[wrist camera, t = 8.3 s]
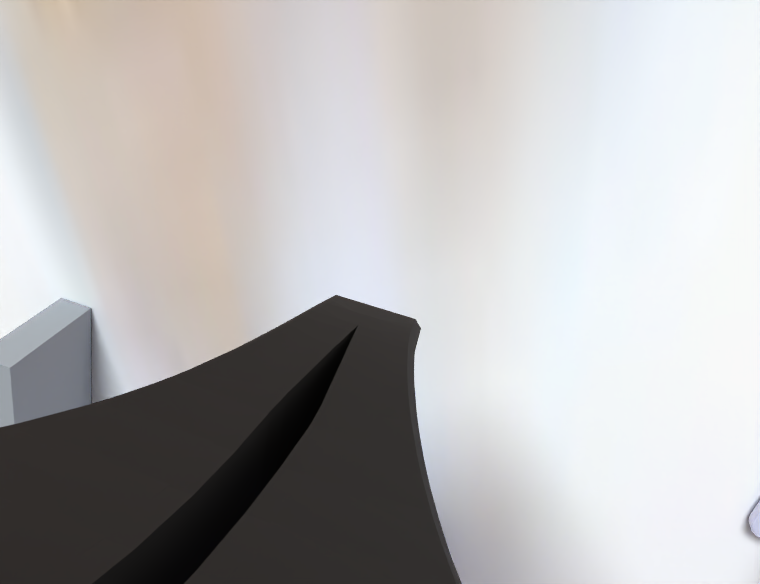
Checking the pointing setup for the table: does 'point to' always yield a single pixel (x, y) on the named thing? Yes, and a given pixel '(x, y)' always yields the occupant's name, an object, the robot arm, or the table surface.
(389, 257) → the table surface
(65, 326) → the corner bracket
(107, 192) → the table surface
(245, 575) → the robot arm
